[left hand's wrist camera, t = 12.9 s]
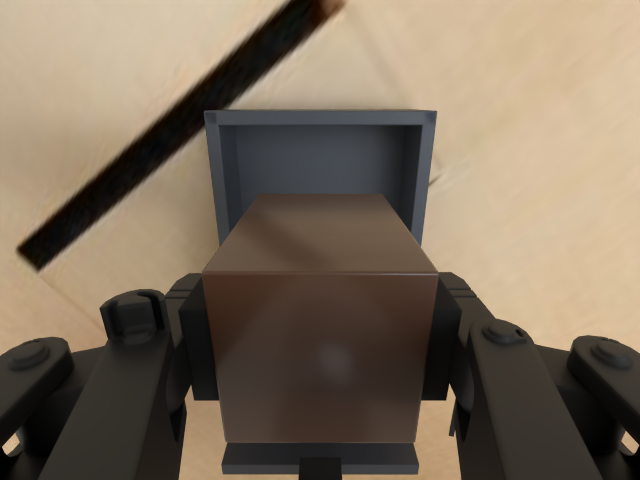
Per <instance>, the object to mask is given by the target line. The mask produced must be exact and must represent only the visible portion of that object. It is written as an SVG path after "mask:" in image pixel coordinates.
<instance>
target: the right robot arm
mask: <svg viewBox="0 0 640 480" xmlns="http://www.w3.org/2000/svg"><path fill="white" fill-rule="evenodd" d="M299 480H342V469H341V458H335V457H300V463H299Z"/></svg>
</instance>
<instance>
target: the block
mask: <svg viewBox="0 0 640 480" xmlns="http://www.w3.org/2000/svg"><path fill="white" fill-rule="evenodd" d="M438 277H439V273H438V271H437V269H436V268H435V267H434V265H433V264H432V262H431V261H430V260H429V258H428V257H427V255H426V254H425V253H424V251H423V250H422V248H421V247H420V246H419V244H418V243H417V241H416V240H415V239H414V237H413V236H412V234H411V233H410V232H409V230H408V229H407V227H406V226H405V225H404V223H403V222H402V220H401V219H400V218H399V216H398V215H397V214H396V212H395V211H394V209H393V208H392V207H391V205H390V204H389V202H388V201H387V200H386V198H385V197H384V195H383V194H258V195H257V197H256V198H255V200H254V201H253V202H252V204H251V205H250V206H249V208H248V209H247V211H246V212H245V213H244V215H243V216H242V218H241V219H240V220H239V222H238V223H237V224H236V226H235V227H234V229H233V230H232V231H231V233H230V234H229V235H228V237H227V238H226V240H225V241H224V242H223V244H222V245H221V246H220V248H219V249H218V251H217V252H216V253H215V255H214V256H213V258H212V259H211V260H210V262H209V263H208V264H207V266H206V267H205V269H204V270H203V271H202V280H203V287H204V294H205V301H206V308H207V315H208V322H209V329H210V336H211V344H212V351H213V358H214V365H215V372H216V379H217V386H218V393H219V400H220V407H221V415H222V422H223V429H224V436H225V441H226V442H273V443H414V442H415V439H416V432H417V425H418V418H419V411H420V404H421V397H422V390H423V383H424V376H425V369H426V362H427V355H428V347H429V340H430V333H431V326H432V319H433V312H434V305H435V298H436V291H437V284H438Z"/></svg>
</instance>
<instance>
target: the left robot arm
mask: <svg viewBox="0 0 640 480" xmlns="http://www.w3.org/2000/svg"><path fill="white" fill-rule="evenodd" d="M438 273H439V277H438V284H437V291H436V298H435V305H434V312H433V319H432V326H431V333H430V340H429V347H428V355H427V362H426V369H425V376H424V383H423V390H422V397H421V400H446V398H447V393H448V387H449V383H450V385H451V388H452V390H453V392H454V394H455V396H456V399H455V405H454V410H453V415H452V420H451V425H450V431H449V436H453V437H454V432H455V431H456V439H457V447H458V455H459V463H460V471H461V479H462V480H640V353H638V352H637V351H635V350H633V349H632V348H630V347H628V346H626V345H624V344H621V343H620V342H618V341H616V340H613V339H608V338H605V337H598V336H590V335H587V336H580V337H577V338H576V339H575V340H574V341H573V343H572V346H571V349H570V351H565V350H560V349H555V348H549V347H544V346H540V345H536V344H534V342H533V340H532V338H531V337H530V336H529V335H528V333H527V332H526V331H524V330H523V329H521V328H520V327H518V326H517V325H514V324H512V323H510V322H507V321H504V320H500V319H496V318H495V317H494V316H493V315H492V314H491V312H490V311H489V310H488V309H487V308H486V306H485V305H484V304H483V303H482V301H481V300H480V299H479V298H477V295H476V294H475V293H474V292H473V291H472V290H471V288H470V287H469V286H468V284H467V283H466V282H465V281H464V280H463V279H462V278H460V277H458V276H457V275H455V274H453V273H452V272H438ZM100 312H101V316H102V319H103V323H104V326H105V330H106V333H107V337H108V341H107V343H106V345H105V346H103V347H99V348H94V349H89V350H83V351H78V352H73V353H71V351H70V348H69V345H68V342H67V341H65V340H64V339H63V338H57V337H47V338H38V339H34V340H32V341H31V340H30V341H27V342H24V343H22V344H21V345H19V346H16V347H14V348H12V349H10V350H9V351H7V352H5V353H4V354H2V355H1V356H0V480H179V472H180V464H181V456H182V448H183V440H184V432H185V424H186V416H187V411H186V405H185V396H186V394H187V392H188V390H189V388H190V386H191V385H192V391H193V397H194V400H219V393H218V386H217V379H216V372H215V365H214V358H213V351H212V344H211V336H210V329H209V322H208V315H207V308H206V301H205V294H204V287H203V280H202V273H189V274H187V275H186V276H184V277H183V278H181V279H179V280H178V281H176V283H175V284H174V285H173V286H172V288H171V289H170V291H168V292H167V294H166V295H165V296H164V294H163V293H161V292H160V291H157V290H152V289H139V290H134V291H129V292H126V293H123V294H120V295H117V296H115V297H113V298H111V299H110V300H108V301H106V302H105V303H104V304H103V305H102V306H101V307H100ZM625 431H627V432H628V433H629V434H630V435H631V437H632V438H633V439H634V440H635V441H636V442H637V443H638V444H639V447H638V449H637V451H636V453H635V454H634V453H632V452H631V451H630V450H629V449H628V448H627V447H626V446H625V445H624V444H623V443H622V442H621V440H622V438H623V436H624V434H625ZM14 433H16V435H17V437H18V439H19V441H20V443H19V444H18V445H17V446H16V448H15V449H14V450H13V451H11V452H10V453H9V454H8V455H6V454H5V453H4V451H3V448H2V446H3V445H4V444H5V443H6V442H7V441H8V440H9V439H10V437H11V436H12V435H13V434H14Z"/></svg>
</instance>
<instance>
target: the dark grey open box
mask: <svg viewBox="0 0 640 480" xmlns="http://www.w3.org/2000/svg"><path fill="white" fill-rule="evenodd" d="M436 117H437V111H429V110H212V111H204V118H205V126H206V135H207V143H208V152H209V160H210V168H211V177H212V185H213V194H214V202H215V210H216V219H217V227H218V236H219V244H220V246H221V245H222V244H223V242H224V241H225V240H226V238H227V237H228V235H229V234H230V233H231V231H232V230H233V229H234V227H235V226H236V224H237V223H238V222H239V220H240V219H241V218H242V216H243V215H244V213H245V212H246V211H247V209H248V208H249V206H250V205H251V204H252V202H253V201H254V200H255V198H256V197H257V195H258V194H383V195H384V197H385V198H386V200H387V201H388V202H389V204H390V205H391V207H392V208H393V209H394V211H395V212H396V214H397V215H398V216H399V218H400V219H401V220H402V222H403V223H404V225H405V226H406V227H407V229H408V230H409V232H410V233H411V234H412V236H413V237H414V239H415V240H416V241H417V243H418V244H419V246H420V247H421V242H422V233H423V225H424V217H425V208H426V200H427V192H428V183H429V175H430V167H431V158H432V150H433V142H434V134H435V125H436ZM300 457H335V458H341V469H342V474H418V469H419V463H418V459H417V455H416V452H415V448H414V444H413V443H273V442H227V446H226V449H225V453H224V457H223V460H222V464H221V466H222V472H223V474H299V463H300Z"/></svg>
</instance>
